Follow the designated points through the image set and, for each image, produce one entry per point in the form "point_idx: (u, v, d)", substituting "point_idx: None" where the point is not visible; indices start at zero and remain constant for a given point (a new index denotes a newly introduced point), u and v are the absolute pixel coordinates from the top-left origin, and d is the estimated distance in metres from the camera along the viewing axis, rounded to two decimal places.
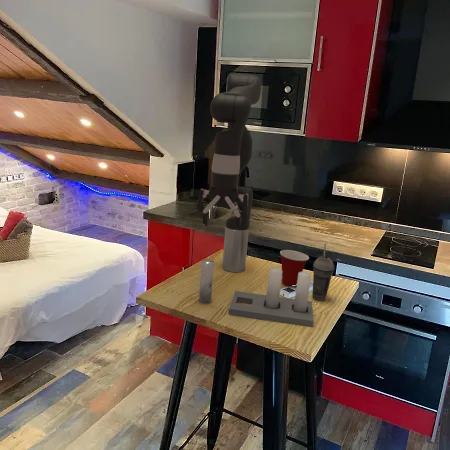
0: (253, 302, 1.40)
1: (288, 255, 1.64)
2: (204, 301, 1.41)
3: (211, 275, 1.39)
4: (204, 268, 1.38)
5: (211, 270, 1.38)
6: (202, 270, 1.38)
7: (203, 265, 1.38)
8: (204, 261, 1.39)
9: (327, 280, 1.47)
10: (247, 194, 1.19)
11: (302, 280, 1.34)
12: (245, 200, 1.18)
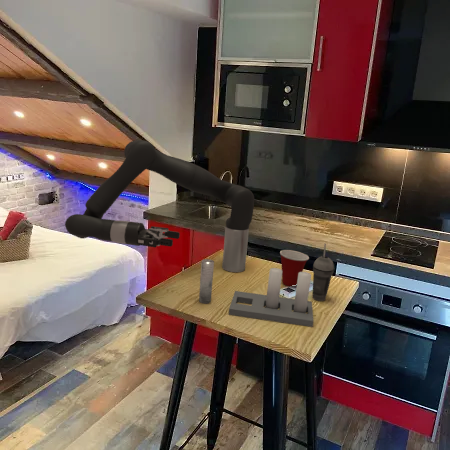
0: (253, 302, 1.40)
1: (288, 255, 1.64)
2: (204, 301, 1.41)
3: (211, 275, 1.39)
4: (204, 268, 1.38)
5: (211, 270, 1.38)
6: (202, 270, 1.38)
7: (203, 265, 1.38)
8: (204, 261, 1.39)
9: (327, 280, 1.47)
10: (138, 240, 1.33)
11: (302, 280, 1.34)
12: None
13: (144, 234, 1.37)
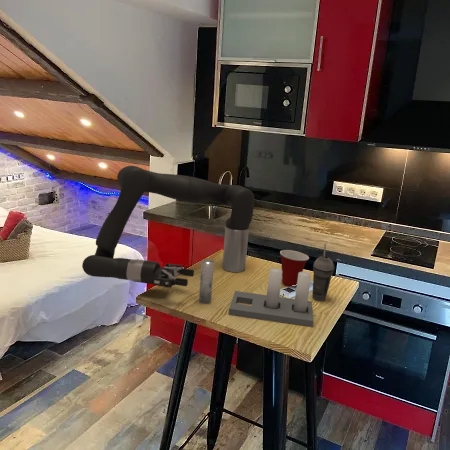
0: (253, 302, 1.40)
1: (288, 255, 1.64)
2: (204, 301, 1.41)
3: (211, 275, 1.39)
4: (204, 268, 1.38)
5: (211, 270, 1.38)
6: (202, 270, 1.38)
7: (203, 265, 1.38)
8: (204, 261, 1.39)
9: (327, 280, 1.47)
10: (154, 280, 1.36)
11: (302, 280, 1.34)
12: None
13: (159, 274, 1.40)
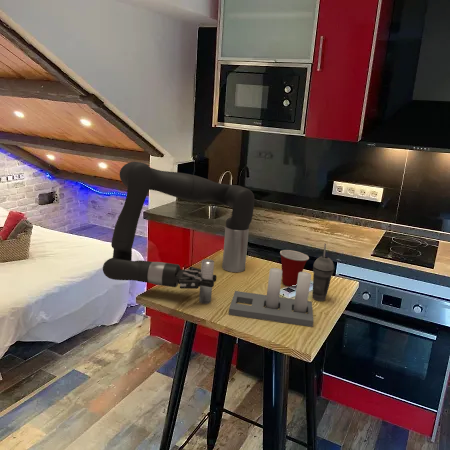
0: (253, 302, 1.40)
1: (288, 255, 1.64)
2: (204, 301, 1.41)
3: (211, 275, 1.39)
4: (204, 268, 1.38)
5: (211, 270, 1.38)
6: (202, 270, 1.38)
7: (203, 265, 1.38)
8: (204, 261, 1.39)
9: (327, 280, 1.47)
10: (180, 284, 1.35)
11: (302, 280, 1.34)
12: None
13: (183, 277, 1.39)
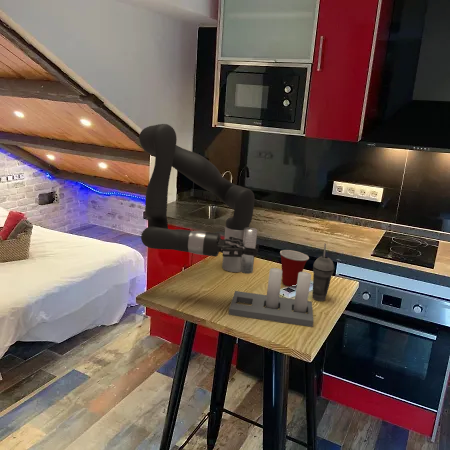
0: (253, 302, 1.40)
1: (288, 255, 1.64)
2: (246, 271, 1.35)
3: (254, 243, 1.34)
4: (247, 236, 1.33)
5: (254, 238, 1.33)
6: (245, 238, 1.33)
7: (246, 233, 1.33)
8: (247, 229, 1.34)
9: (327, 280, 1.47)
10: (223, 252, 1.30)
11: (302, 280, 1.34)
12: None
13: (225, 245, 1.33)
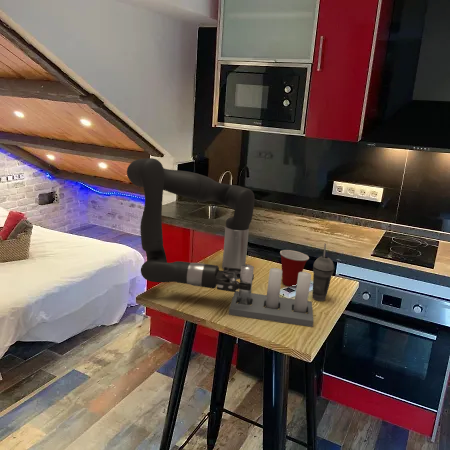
0: (253, 302, 1.40)
1: (288, 255, 1.64)
2: None
3: (251, 281, 1.37)
4: (244, 274, 1.36)
5: (251, 276, 1.36)
6: (242, 276, 1.37)
7: (243, 270, 1.36)
8: (244, 266, 1.37)
9: (327, 280, 1.47)
10: (217, 285, 1.33)
11: (302, 280, 1.34)
12: None
13: (221, 277, 1.37)
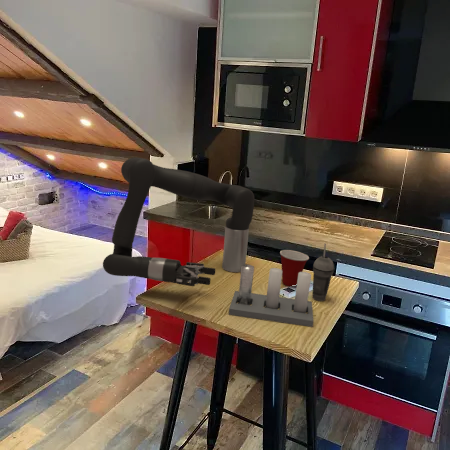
0: (253, 302, 1.40)
1: (288, 255, 1.64)
2: None
3: (251, 281, 1.37)
4: (244, 274, 1.36)
5: (251, 275, 1.37)
6: (242, 275, 1.37)
7: (243, 270, 1.36)
8: (244, 266, 1.37)
9: (327, 280, 1.47)
10: (176, 279, 1.35)
11: (302, 280, 1.34)
12: None
13: (181, 272, 1.38)
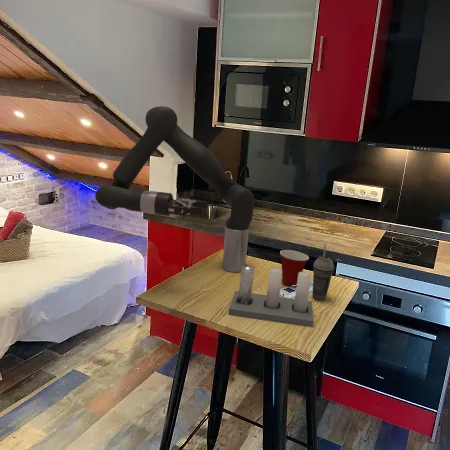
0: (253, 302, 1.40)
1: (288, 255, 1.64)
2: None
3: (251, 281, 1.37)
4: (244, 274, 1.36)
5: (251, 276, 1.36)
6: (242, 275, 1.37)
7: (243, 270, 1.36)
8: (244, 266, 1.37)
9: (327, 280, 1.47)
10: (168, 209, 1.35)
11: (302, 280, 1.34)
12: None
13: (174, 203, 1.38)
